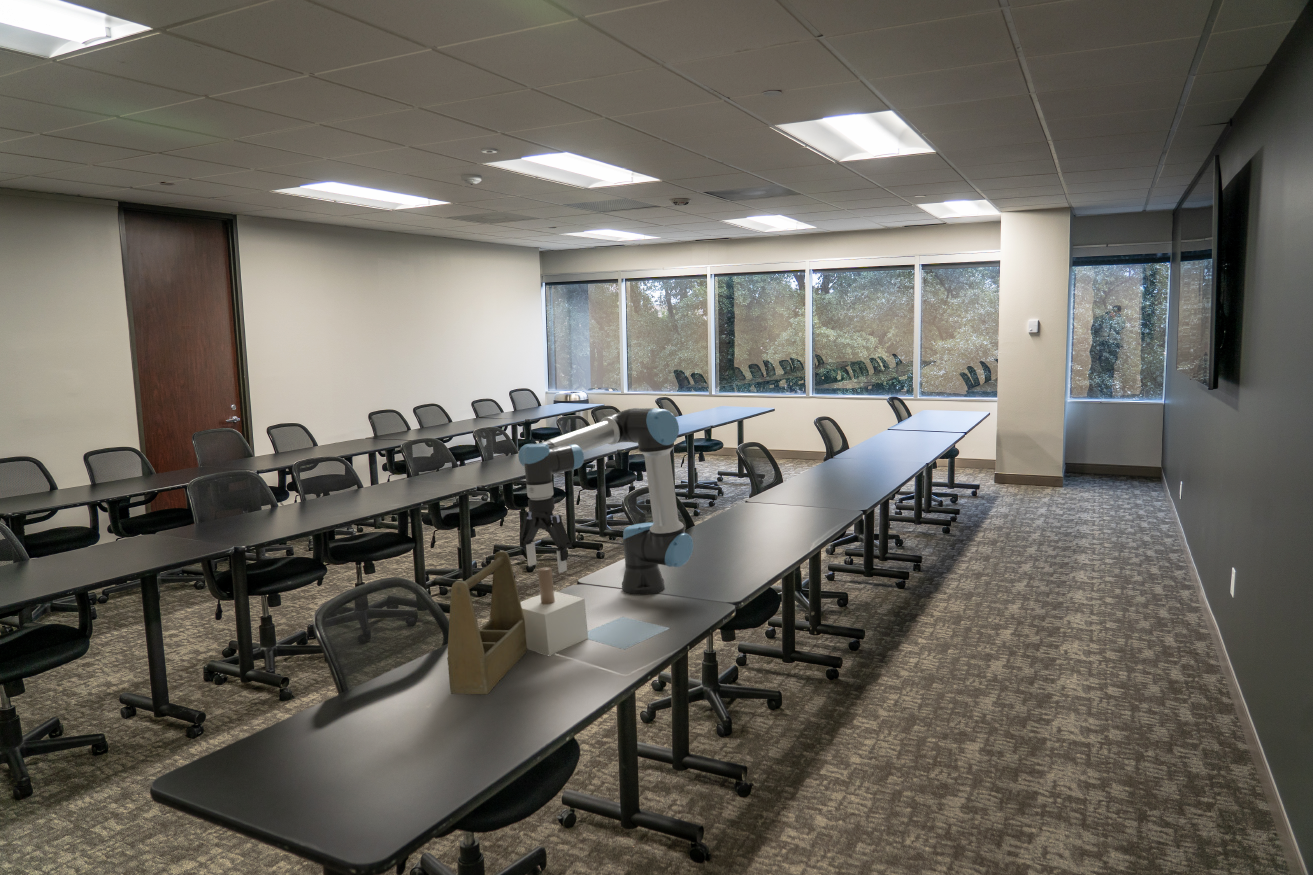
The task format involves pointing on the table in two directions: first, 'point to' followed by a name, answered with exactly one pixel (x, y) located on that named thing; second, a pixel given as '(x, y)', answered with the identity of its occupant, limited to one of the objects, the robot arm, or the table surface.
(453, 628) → the caddy
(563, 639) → the cover box
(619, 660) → the table surface
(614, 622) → the mat
